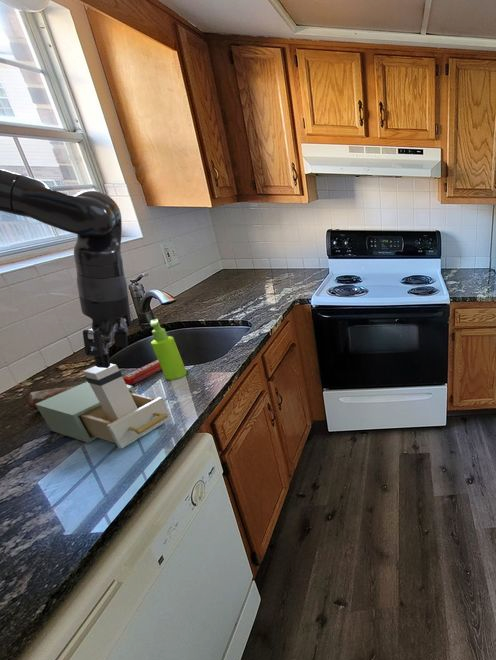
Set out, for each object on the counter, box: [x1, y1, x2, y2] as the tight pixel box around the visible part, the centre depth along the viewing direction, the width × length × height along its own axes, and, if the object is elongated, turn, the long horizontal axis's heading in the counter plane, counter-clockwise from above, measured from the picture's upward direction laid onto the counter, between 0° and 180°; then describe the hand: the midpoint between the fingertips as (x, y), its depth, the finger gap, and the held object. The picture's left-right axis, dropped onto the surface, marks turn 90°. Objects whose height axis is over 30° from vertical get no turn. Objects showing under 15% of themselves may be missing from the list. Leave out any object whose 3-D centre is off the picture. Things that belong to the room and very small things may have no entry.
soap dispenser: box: [149, 318, 188, 381], centre depth 117 cm, size 6×7×20 cm
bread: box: [28, 385, 77, 411], centre depth 108 cm, size 6×19×6 cm, turn 117°
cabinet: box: [35, 381, 137, 443], centre depth 98 cm, size 16×14×9 cm
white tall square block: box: [82, 363, 137, 423], centre depth 92 cm, size 5×5×17 cm
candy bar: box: [122, 359, 162, 386], centre depth 122 cm, size 16×4×3 cm, turn 164°
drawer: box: [78, 392, 172, 449], centre depth 94 cm, size 19×12×7 cm, turn 71°
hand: (113, 356), depth 83 cm, fingers open, 8 cm apart
